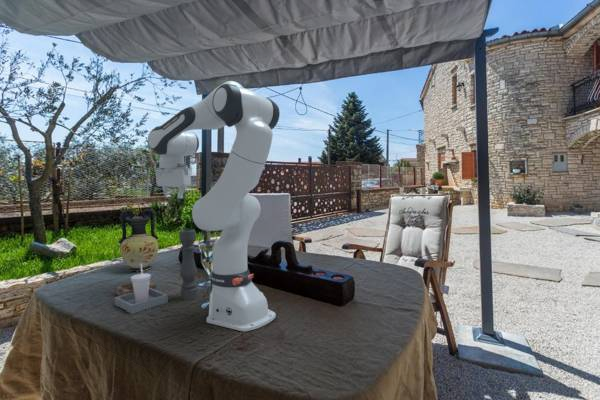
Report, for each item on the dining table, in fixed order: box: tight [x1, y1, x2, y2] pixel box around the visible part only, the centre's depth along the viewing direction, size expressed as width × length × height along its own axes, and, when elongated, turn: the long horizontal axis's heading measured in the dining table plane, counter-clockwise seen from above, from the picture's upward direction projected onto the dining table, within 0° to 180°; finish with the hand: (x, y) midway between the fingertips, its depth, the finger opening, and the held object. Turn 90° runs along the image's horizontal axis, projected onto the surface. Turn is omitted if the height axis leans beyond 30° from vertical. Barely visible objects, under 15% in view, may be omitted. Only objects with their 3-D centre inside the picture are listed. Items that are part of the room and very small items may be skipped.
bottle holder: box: [114, 281, 157, 296], centre depth 125 cm, size 11×11×3 cm
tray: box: [114, 288, 169, 315], centre depth 114 cm, size 13×13×3 cm
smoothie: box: [130, 263, 152, 303], centre depth 113 cm, size 6×6×14 cm
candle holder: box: [178, 229, 199, 301], centre depth 119 cm, size 6×6×25 cm
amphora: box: [118, 208, 159, 272], centre depth 157 cm, size 18×17×30 cm
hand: (173, 197), depth 132 cm, fingers open, 8 cm apart
